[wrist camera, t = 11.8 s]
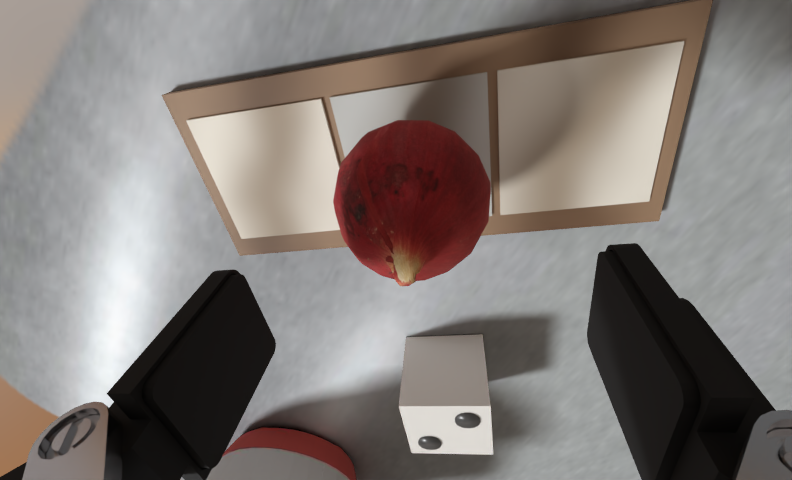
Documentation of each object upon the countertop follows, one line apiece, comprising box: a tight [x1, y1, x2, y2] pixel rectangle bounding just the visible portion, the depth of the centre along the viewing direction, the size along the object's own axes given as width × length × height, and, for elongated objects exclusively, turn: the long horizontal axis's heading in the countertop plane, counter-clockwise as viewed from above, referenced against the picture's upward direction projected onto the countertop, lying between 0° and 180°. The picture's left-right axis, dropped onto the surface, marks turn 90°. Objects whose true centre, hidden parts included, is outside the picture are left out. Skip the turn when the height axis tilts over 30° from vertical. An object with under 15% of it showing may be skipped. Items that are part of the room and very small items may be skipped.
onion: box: [333, 120, 491, 286], centre depth 14 cm, size 6×6×8 cm
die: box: [399, 334, 493, 455], centre depth 24 cm, size 5×5×5 cm
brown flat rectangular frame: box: [162, 0, 713, 256], centre depth 18 cm, size 22×9×1 cm, turn 100°
